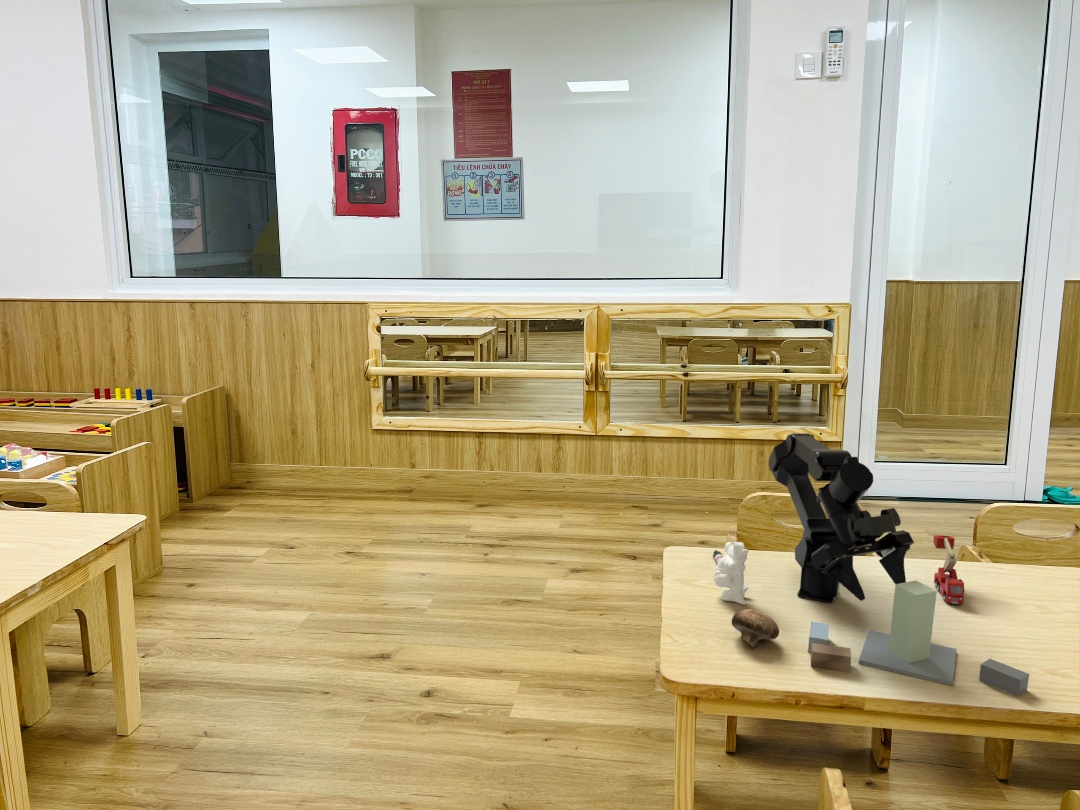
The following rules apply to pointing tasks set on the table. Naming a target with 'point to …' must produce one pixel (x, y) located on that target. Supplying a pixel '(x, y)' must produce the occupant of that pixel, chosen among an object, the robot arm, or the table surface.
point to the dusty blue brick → (818, 634)
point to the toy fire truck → (948, 582)
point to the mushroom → (754, 626)
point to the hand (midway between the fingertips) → (884, 595)
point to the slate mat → (931, 669)
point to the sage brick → (912, 621)
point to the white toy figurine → (732, 572)
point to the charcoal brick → (1004, 677)
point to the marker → (717, 556)
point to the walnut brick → (830, 657)
